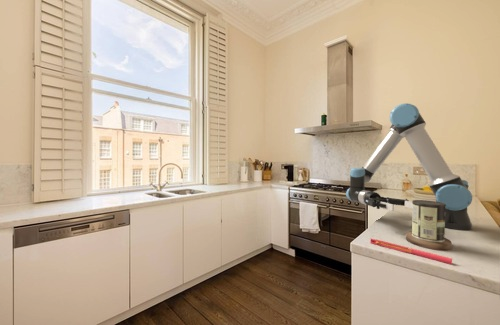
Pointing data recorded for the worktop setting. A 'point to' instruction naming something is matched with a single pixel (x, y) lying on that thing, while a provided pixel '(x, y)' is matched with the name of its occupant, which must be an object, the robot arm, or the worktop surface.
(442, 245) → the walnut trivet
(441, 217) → the coffee can
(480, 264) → the worktop surface
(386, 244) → the chopstick
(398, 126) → the robot arm
